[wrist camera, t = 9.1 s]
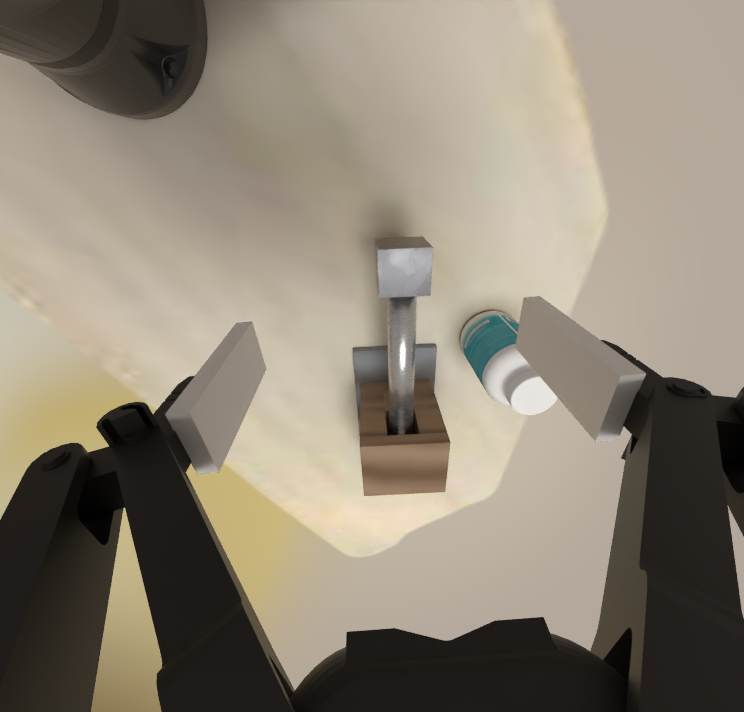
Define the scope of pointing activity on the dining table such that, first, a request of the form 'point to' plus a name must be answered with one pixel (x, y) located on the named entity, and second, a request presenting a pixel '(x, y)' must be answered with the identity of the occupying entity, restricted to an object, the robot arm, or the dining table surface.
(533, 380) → the pill bottle
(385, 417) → the bearing block
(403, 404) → the shaft
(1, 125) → the dining table surface
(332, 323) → the dining table surface
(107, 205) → the dining table surface
